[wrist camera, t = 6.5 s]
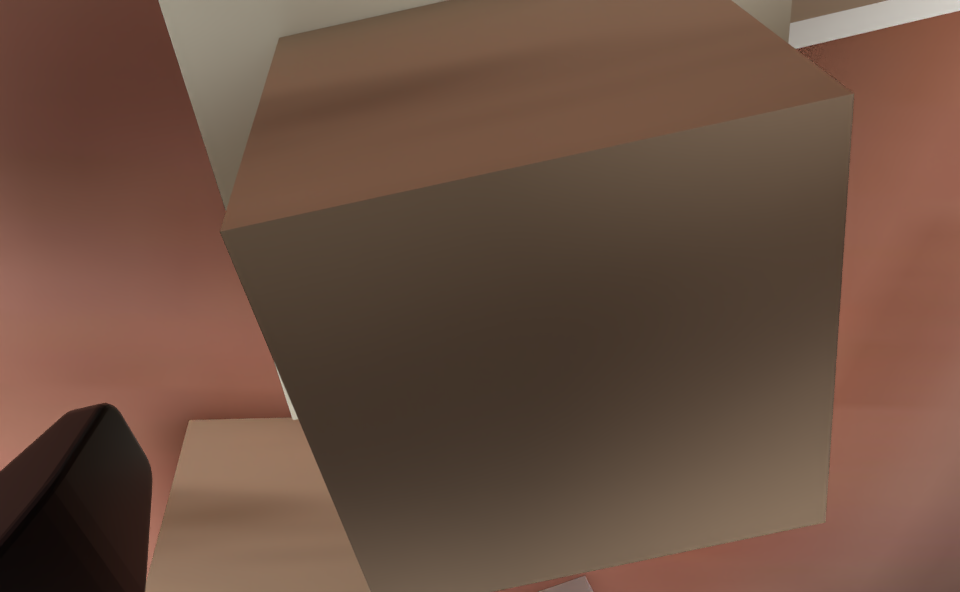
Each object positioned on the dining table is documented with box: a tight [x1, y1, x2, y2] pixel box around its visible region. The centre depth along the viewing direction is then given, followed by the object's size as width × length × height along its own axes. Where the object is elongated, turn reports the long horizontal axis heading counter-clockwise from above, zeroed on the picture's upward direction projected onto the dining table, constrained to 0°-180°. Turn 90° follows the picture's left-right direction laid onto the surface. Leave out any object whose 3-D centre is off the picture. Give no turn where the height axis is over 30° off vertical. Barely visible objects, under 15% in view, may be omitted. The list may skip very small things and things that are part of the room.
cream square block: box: [158, 0, 792, 420], centre depth 14 cm, size 8×8×4 cm
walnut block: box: [220, 0, 854, 592], centre depth 10 cm, size 5×5×5 cm
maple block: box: [145, 417, 371, 592], centre depth 18 cm, size 5×5×5 cm
